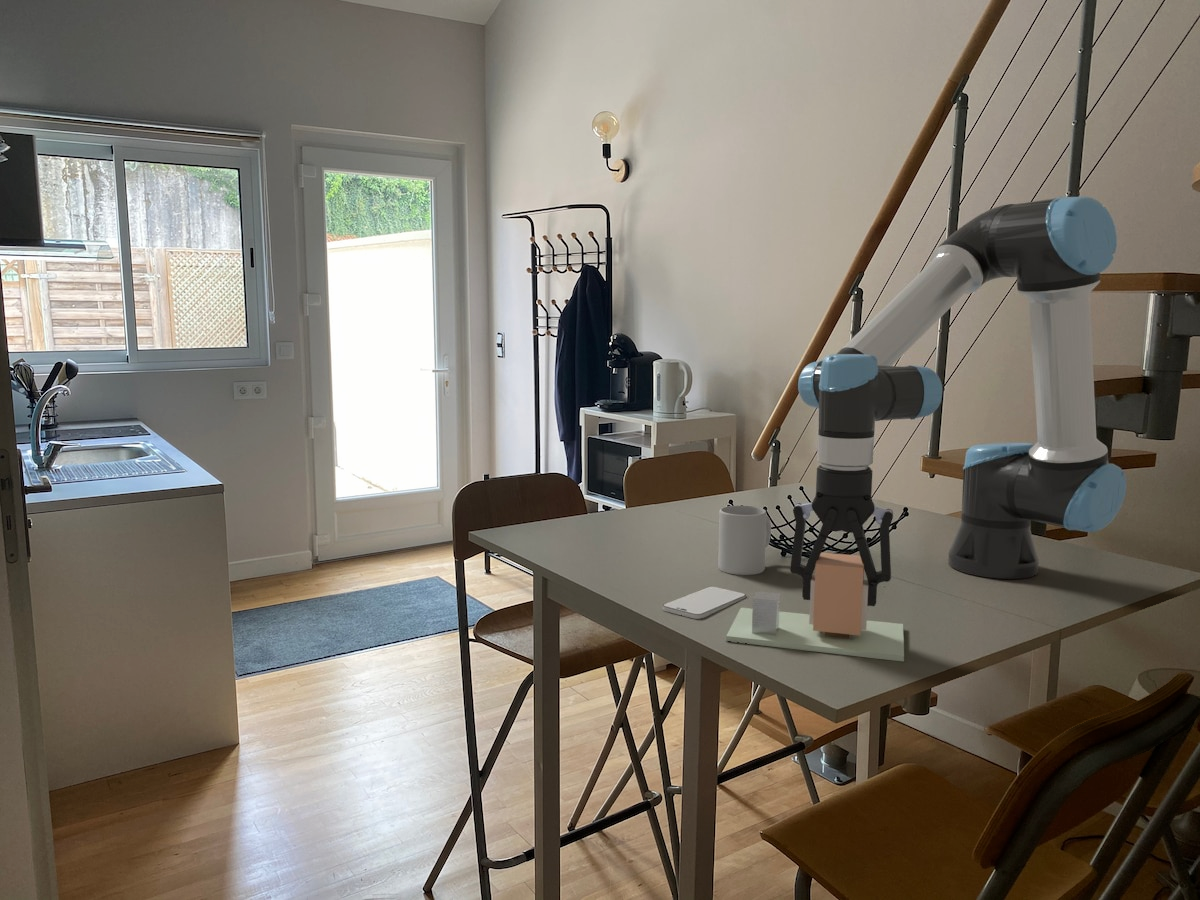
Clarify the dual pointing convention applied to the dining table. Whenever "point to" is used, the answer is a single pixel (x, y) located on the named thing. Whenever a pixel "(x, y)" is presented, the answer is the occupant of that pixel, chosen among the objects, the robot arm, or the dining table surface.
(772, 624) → the grey post
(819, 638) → the board
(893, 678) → the dining table surface
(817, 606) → the peach rectangular block
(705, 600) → the smartphone
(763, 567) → the mug
